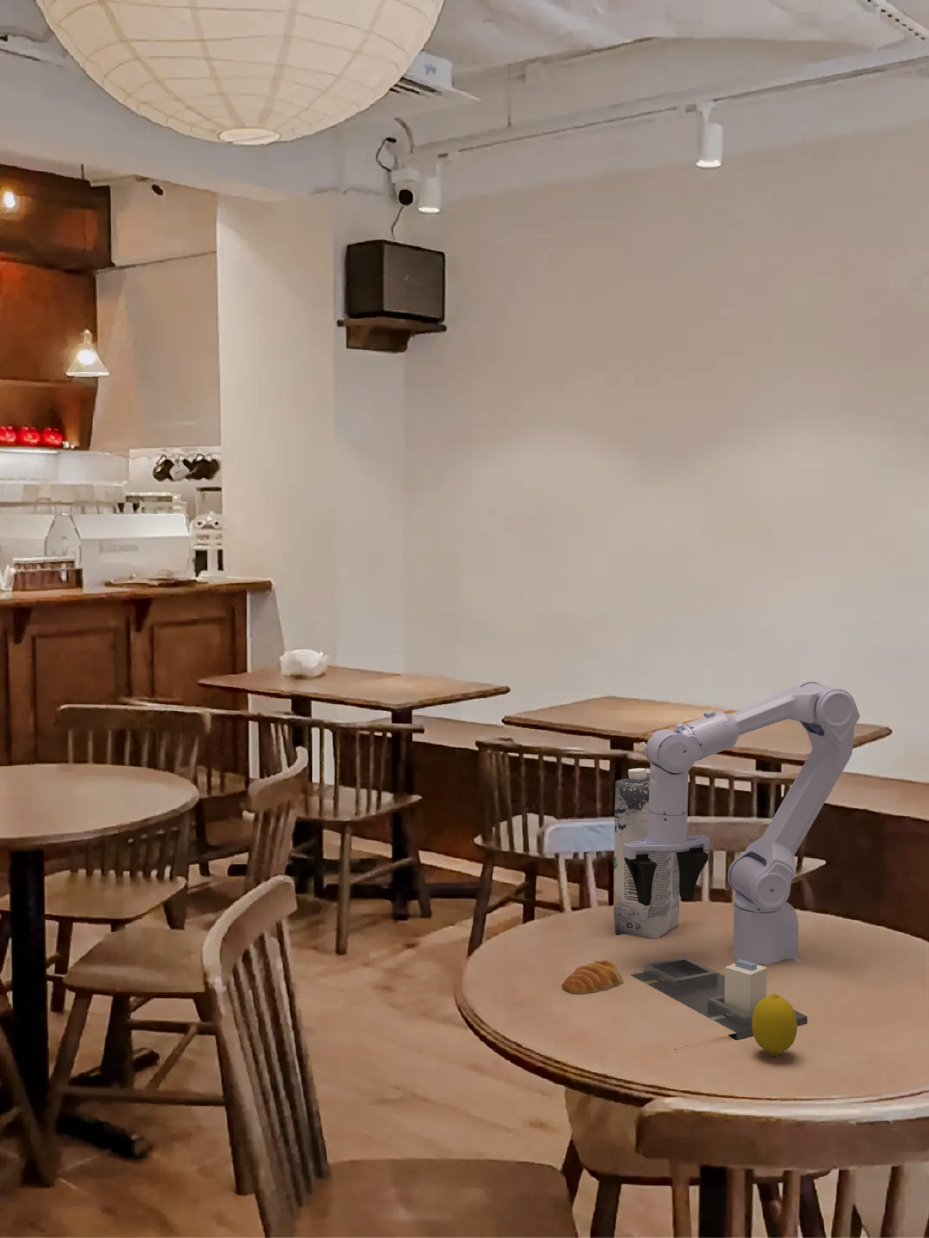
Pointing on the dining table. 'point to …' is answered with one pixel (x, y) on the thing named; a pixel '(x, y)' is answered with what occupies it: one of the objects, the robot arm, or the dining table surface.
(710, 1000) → the panel
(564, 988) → the pastry
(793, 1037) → the lemon
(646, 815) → the juice carton
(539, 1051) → the dining table surface
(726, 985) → the plug
